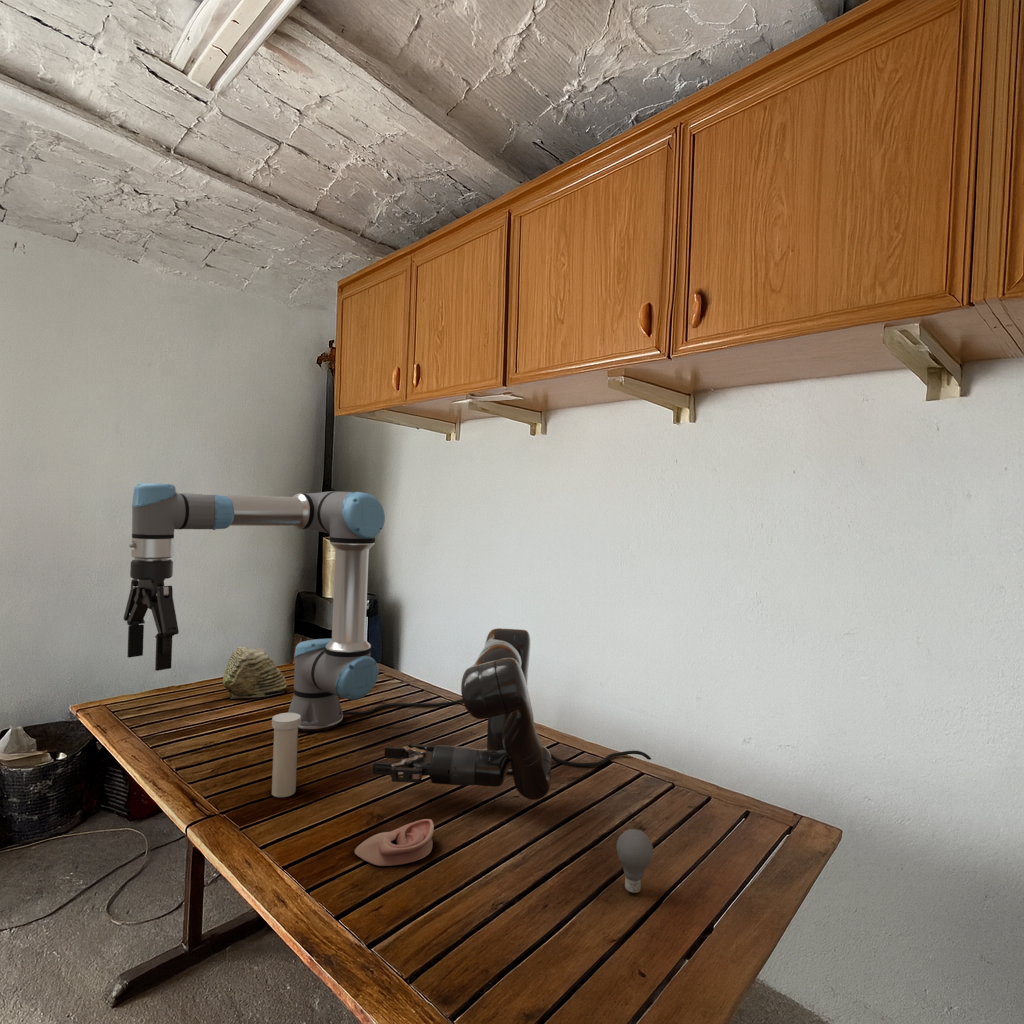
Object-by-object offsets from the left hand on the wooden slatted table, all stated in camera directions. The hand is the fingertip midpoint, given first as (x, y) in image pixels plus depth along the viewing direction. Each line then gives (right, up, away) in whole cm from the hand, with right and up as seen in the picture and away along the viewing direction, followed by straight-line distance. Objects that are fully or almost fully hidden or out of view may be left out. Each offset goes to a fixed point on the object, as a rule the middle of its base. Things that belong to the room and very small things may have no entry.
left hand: (148, 662), depth 129 cm
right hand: (+46, -21, +4) cm, 51 cm away
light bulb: (+94, -33, -24) cm, 103 cm away
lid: (+26, -13, +6) cm, 30 cm away
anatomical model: (+53, -31, -14) cm, 63 cm away
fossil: (-6, -27, +69) cm, 74 cm away
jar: (+25, -29, +6) cm, 39 cm away
